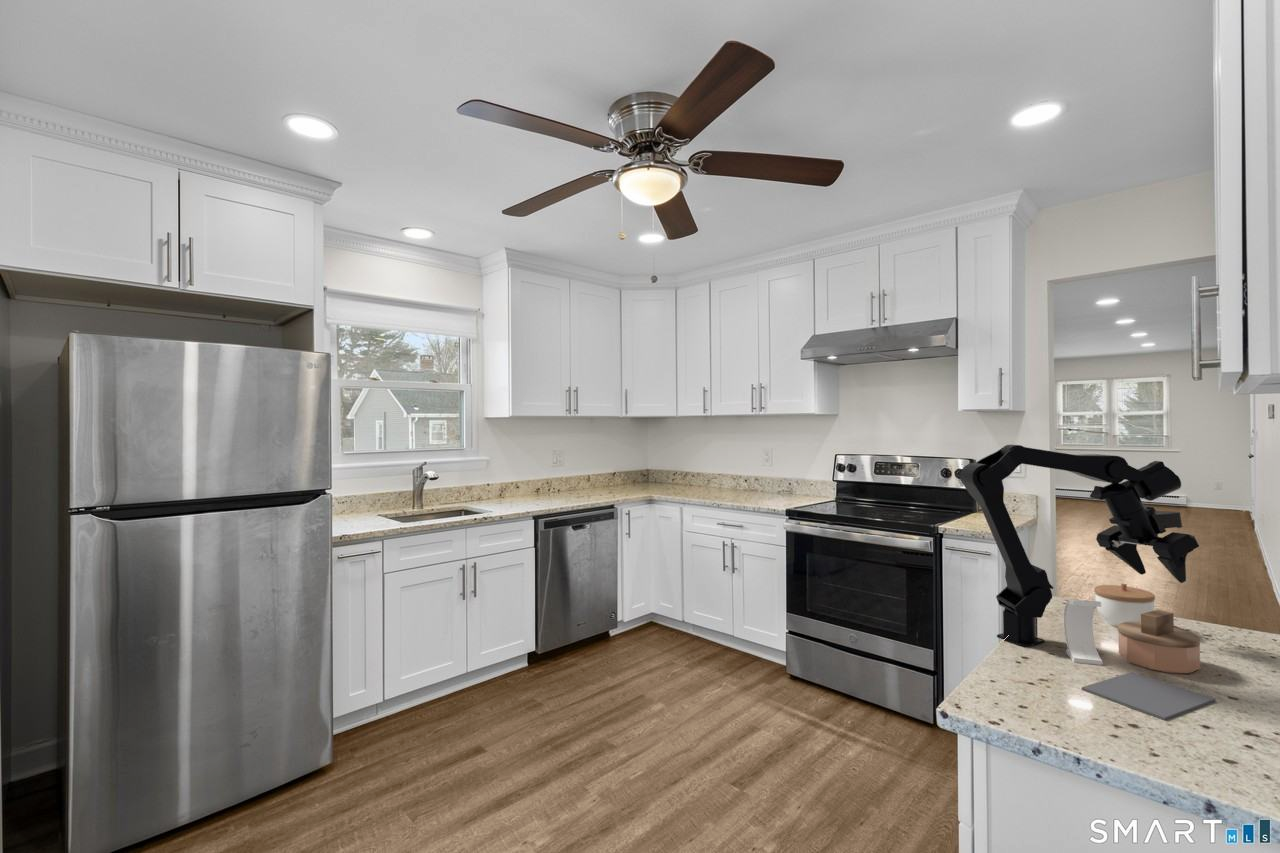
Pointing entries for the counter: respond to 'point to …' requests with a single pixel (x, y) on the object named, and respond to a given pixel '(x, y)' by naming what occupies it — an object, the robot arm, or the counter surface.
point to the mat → (1148, 695)
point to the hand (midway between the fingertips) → (1162, 577)
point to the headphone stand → (1081, 631)
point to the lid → (1159, 631)
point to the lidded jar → (1123, 603)
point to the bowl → (1159, 656)
